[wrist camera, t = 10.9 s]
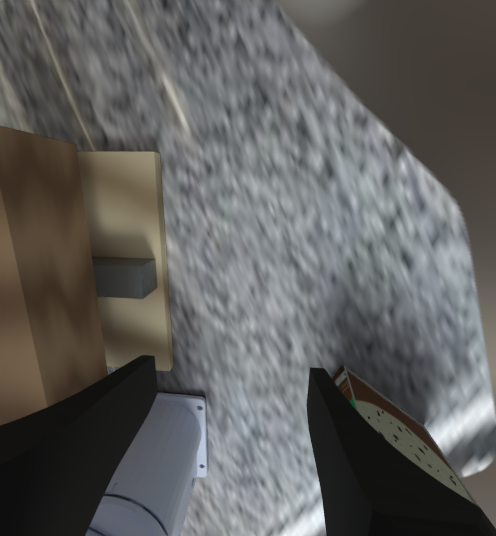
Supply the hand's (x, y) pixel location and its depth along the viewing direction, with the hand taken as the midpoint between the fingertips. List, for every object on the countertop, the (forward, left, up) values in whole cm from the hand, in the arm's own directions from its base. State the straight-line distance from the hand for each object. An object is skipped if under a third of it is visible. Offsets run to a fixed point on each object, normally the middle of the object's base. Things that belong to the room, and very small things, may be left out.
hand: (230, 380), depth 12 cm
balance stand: (+2, +13, -10) cm, 17 cm away
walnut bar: (+2, +13, -7) cm, 15 cm away
